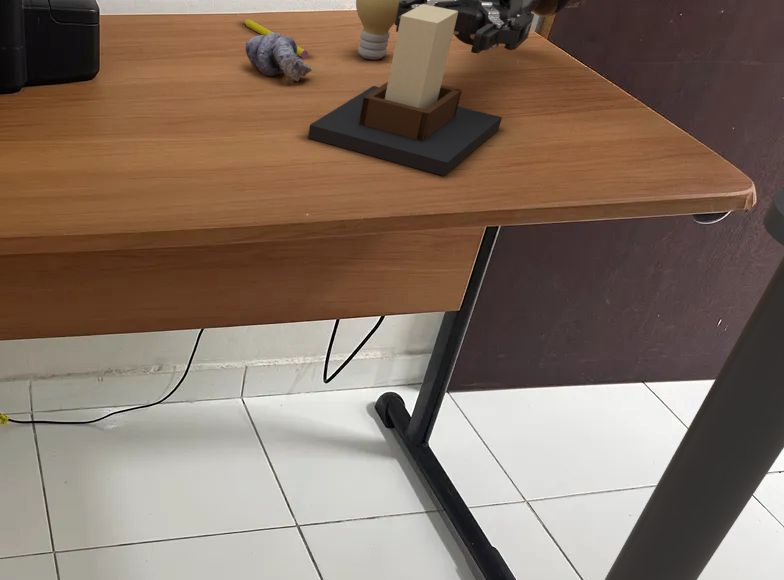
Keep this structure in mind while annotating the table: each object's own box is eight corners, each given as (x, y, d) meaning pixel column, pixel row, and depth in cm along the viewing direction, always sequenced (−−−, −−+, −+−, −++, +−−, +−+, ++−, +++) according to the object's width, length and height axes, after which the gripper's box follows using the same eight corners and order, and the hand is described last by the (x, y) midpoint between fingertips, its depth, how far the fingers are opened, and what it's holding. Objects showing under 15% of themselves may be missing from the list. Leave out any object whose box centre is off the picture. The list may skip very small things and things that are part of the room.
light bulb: (363, 66, 118) (378, -18, 111) (338, 51, 122) (351, -31, 115) (404, 61, 120) (421, -22, 113) (378, 47, 124) (393, -34, 117)
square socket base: (498, 130, 102) (510, 89, 99) (443, 176, 93) (454, 133, 90) (371, 98, 109) (378, 59, 106) (307, 138, 100) (313, 96, 97)
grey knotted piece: (306, 93, 114) (245, 75, 119) (326, 52, 112) (264, 36, 118) (288, 73, 109) (226, 56, 114) (308, 30, 108) (245, 15, 113)
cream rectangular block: (434, 117, 101) (459, 11, 94) (413, 132, 98) (437, 23, 90) (400, 108, 103) (422, 3, 95) (379, 123, 99) (400, 15, 92)
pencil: (307, 57, 120) (308, 49, 120) (300, 58, 120) (301, 50, 119) (246, 23, 131) (247, 16, 131) (240, 24, 131) (241, 16, 130)
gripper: (442, -43, 107) (384, -15, 97) (562, -22, 101) (513, 9, 91) (428, 25, 112) (371, 58, 103) (541, 48, 106) (492, 85, 97)
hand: (438, 35), depth 97 cm, fingers open, 8 cm apart
